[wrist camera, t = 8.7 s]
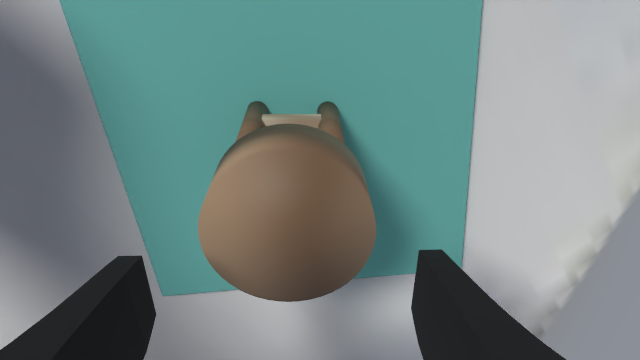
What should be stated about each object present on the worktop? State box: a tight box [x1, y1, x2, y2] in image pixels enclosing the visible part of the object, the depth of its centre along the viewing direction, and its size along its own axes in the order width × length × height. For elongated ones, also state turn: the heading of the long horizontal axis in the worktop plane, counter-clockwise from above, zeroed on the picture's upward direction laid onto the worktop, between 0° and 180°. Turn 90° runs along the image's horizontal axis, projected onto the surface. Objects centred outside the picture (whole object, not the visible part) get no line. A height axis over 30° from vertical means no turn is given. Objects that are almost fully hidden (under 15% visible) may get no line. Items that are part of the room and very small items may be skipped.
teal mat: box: [60, 0, 482, 296], centre depth 20 cm, size 16×16×1 cm
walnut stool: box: [198, 101, 376, 302], centre depth 16 cm, size 5×5×7 cm
